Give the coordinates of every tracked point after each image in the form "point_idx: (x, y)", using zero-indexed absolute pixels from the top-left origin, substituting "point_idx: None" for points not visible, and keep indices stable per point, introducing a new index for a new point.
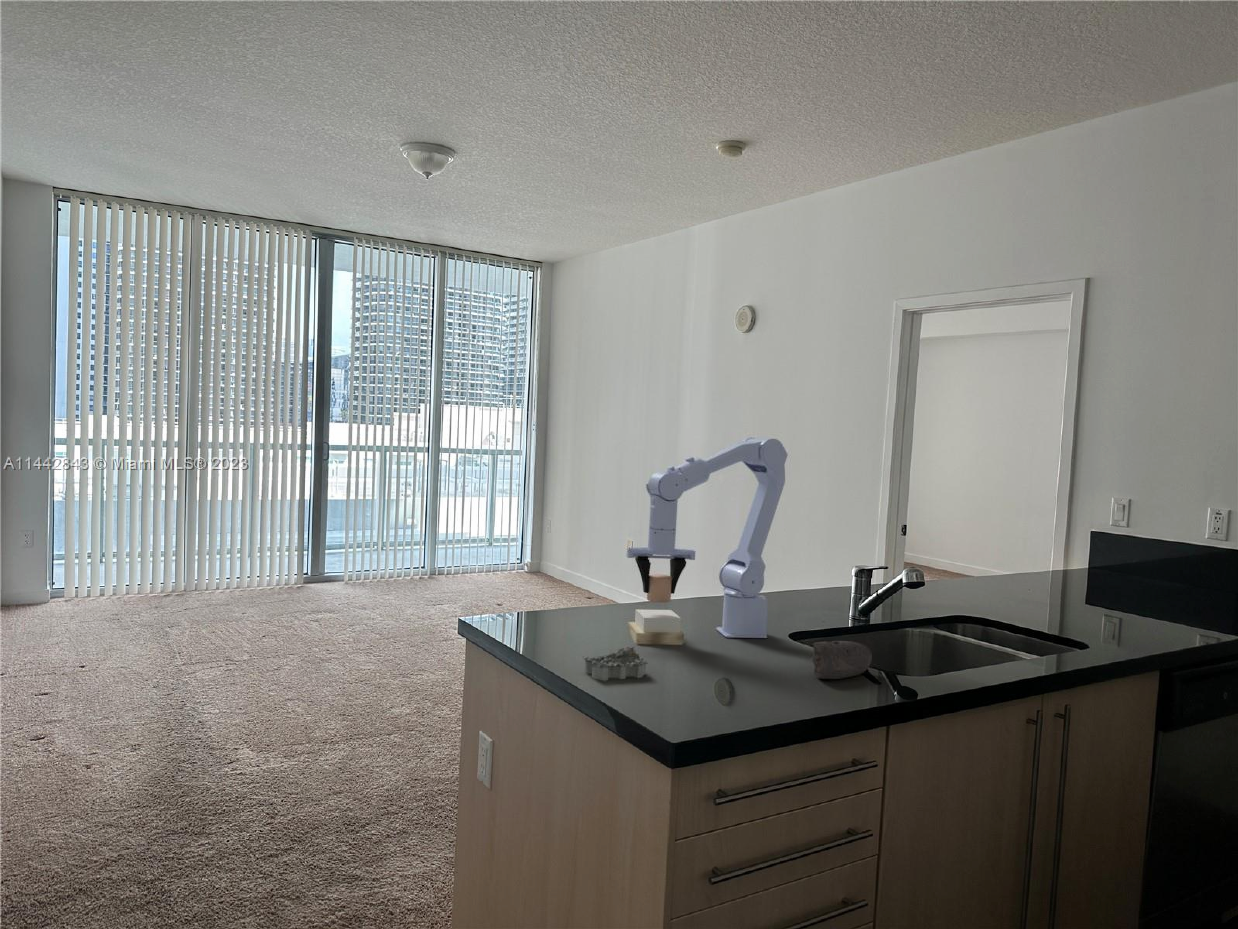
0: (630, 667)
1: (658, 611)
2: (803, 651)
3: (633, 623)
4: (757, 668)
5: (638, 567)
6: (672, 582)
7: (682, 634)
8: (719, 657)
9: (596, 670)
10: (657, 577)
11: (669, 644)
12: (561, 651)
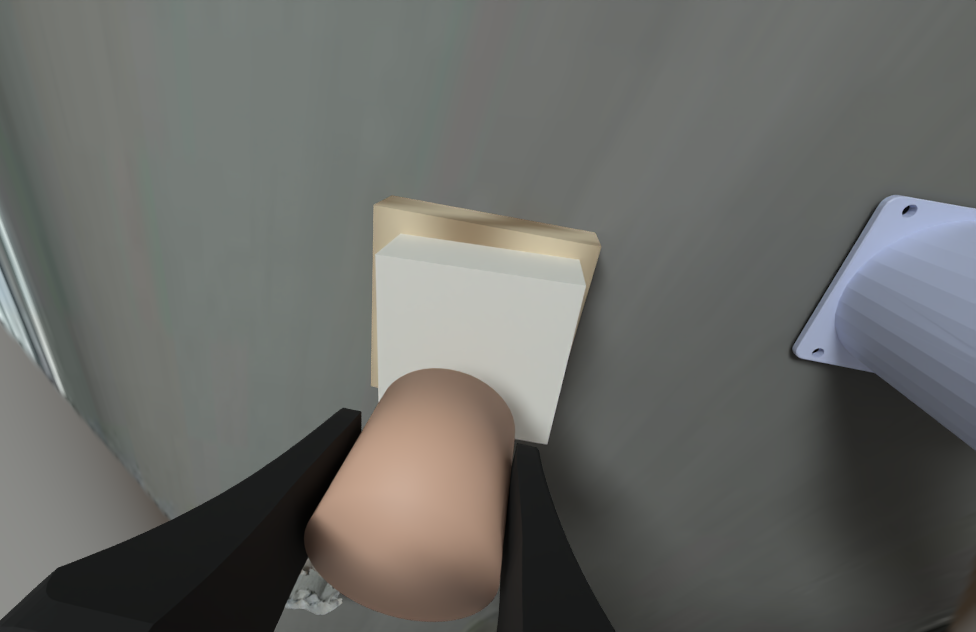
0: (308, 583)
1: (492, 312)
2: (931, 529)
3: (392, 238)
4: (630, 593)
5: (166, 528)
6: (503, 560)
7: None
8: (589, 517)
9: None
10: (369, 583)
11: None
12: (159, 394)
